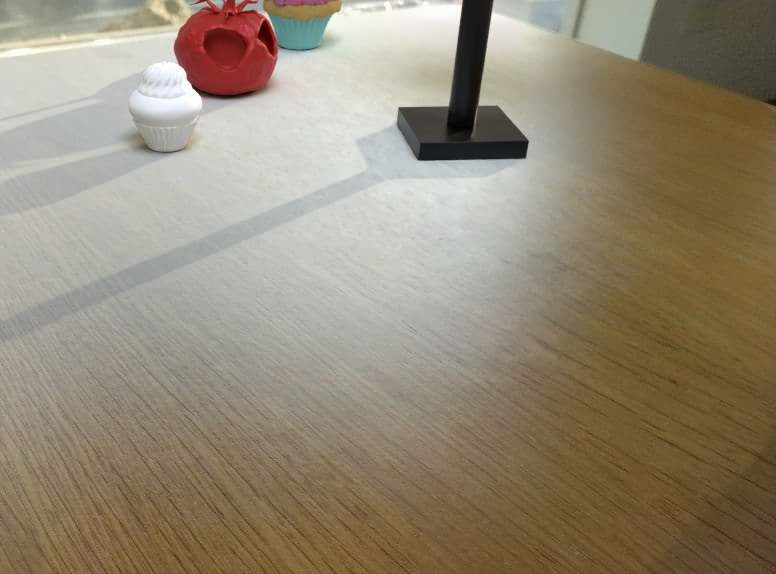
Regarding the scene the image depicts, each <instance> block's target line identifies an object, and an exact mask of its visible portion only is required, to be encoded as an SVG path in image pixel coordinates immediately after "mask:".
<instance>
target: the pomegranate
mask: <svg viewBox="0 0 776 574" xmlns="http://www.w3.org/2000/svg"><path fill="white" fill-rule="evenodd" d="M204 2H206V4H207V5H208V6H203V7H202V8H201V9H199V11H197V12H195V13H193V14H191V15H190V17H188V18H187V20H186V21H185V23H184V24H183V25H181V26H180V28H179V29H178V33H177V36H176V38H175V40H174V44H173V52H174V56H175V58H176V61H177V65H179V66H180V67H182V68H183V69H184V71H185V72H186V79H187V81H188V82H189V83H190V84H191V86H193V87H194V88H196V89H198V90H200V91H203V92H204V93H208V94H213V95H217V96H236V95H241V94H244V93H249V92H255V91H259V90H260V89H262V88H264V87H265V86H266V85H267V84H268V82H269V81H270V79H271V78H272V76H273V74H274V71H275V69H276V65H277V62H278V57H279V45H278V43H277V39H276V35H275V31H274V28H273V25H272V23H271V20H270V19H268V18H267V17H266V16H265V15H264V14H262V13H261V12H260V13H259V12H258V10H257V9H248V10H244V8H245V7H246V6H247V5H250V4H251V5H252V4H253V5H255V4H257V3H258V2H259V0H243V1H241V3H239V4H236V0H222V4H223V5H222V7H221V8H220V7H218V6H217V5H216V4H215V3H213V2H212V1H211V0H198V1H196V2H194V3H189V5H190V6H194V5H198V4H201V3H204Z"/></svg>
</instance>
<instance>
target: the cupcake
mask: <svg viewBox="0 0 776 574" xmlns="http://www.w3.org/2000/svg"><path fill="white" fill-rule="evenodd" d="M342 1H343V0H263V2H262V10H263V12H265V13H266V14H267V17H268V18H269V21H270V23H271V26H272V28H273V30H274V33H275V35H276V39H277V46H278V47H282V48H284V49H289V50H296V51H297V50H301V51H302V50H303V51H304V50H311V49H316V48H317V47H319V46H320V45H321V44H322V40H323V37H324V34H325V32H326V29H327V26H328V24H329V21H331V18H332V16H333V15H335V14H336V13H339V12H340V11H341V9H342V3H343V2H342Z"/></svg>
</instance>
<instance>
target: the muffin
mask: <svg viewBox="0 0 776 574" xmlns="http://www.w3.org/2000/svg"><path fill="white" fill-rule="evenodd" d="M192 86H193V85H192V84H191V83H190V82H189V81H188V80H187V79H186V72H185V71H184V69H183V68H182V67H180V66H179V64H178V63H175V62H171V61H170V62H169V61H168V62H167V61H165V60H163V61H160V62H155V63H151V64H150V65H149V66H147V67H146V68H145V69H144V70H143V74H142V80H141V82H140V83H139V85H138V86H137V89H135V90H134V91H133V92H132V93H131V94H130V96H129V98H128V102H127V106H128V111H129V114H130V115H131V116H132V121H133V123H134V124H135V126H136V128H137V130H138V132H139V133H140V135H141V137H142V138H143V140H144V142H145V144H146V146H147V148H148V149H150V150H153V151H155V152H160V153H162V152H164V153H166V152H167V153H170V152H172V153H173V152H176V151H177V152H178V151H181V150H183V149H184V148H185V147H187V145H188V143H189V141H190V139H191V137H192V135H193V133H194V130H195V128H196V126H197V125H198V122H199V121H200V115H201V111H202V109H203V99H202V97H201V96H200V94H199V93H198V92H197V91H196V90H195V89H194V88H193V87H192Z"/></svg>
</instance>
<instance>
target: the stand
mask: <svg viewBox="0 0 776 574" xmlns="http://www.w3.org/2000/svg"><path fill="white" fill-rule="evenodd" d="M494 1H495V0H462V2H461V11H460V16H459V17H460V19H459V26H458V33H457V41H456V49H455V56H454V64H453V71H452V77H451V78H452V80H451V85H450V95H449V102H448V105H442V106H440V105H439V106H438V105H437V106H435V105H434V106H398V108H397V116H396V117H397V118H396V124H397V126H398V128H399V129H400V131H401V133H402V134H403V136H404V138H405V140H406V141H407V143H408V145H409V146H410V149H411V150H412V151H413V153H414V155H415V157H416V159H417V160H418V161H439V160H441V161H443V160H444V161H445V160H486V159H487V160H491V159H493V160H494V159H526V158H527V154H528V151H529V150H528V149H529V144H530V140H529V138H527V136H526V135H525V134H524V133H523V132H522V131H521V130H520V129H519V127H518V126H517V125H516V124H515V123H514V122H513V121H512V119H511V118H510V117H509V116H508V115H507V114H506V113H505V112H504V111H503V109H502V108H501V107H500V106H499V105H497V104H496V105H479V103H480V97H481V91H482V83H483V78H484V77H483V76H484V69H485V63H486V57H487V55H486V54H487V48H488V43H489V35H490V27H491V23H492V15H493V8H494Z"/></svg>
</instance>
